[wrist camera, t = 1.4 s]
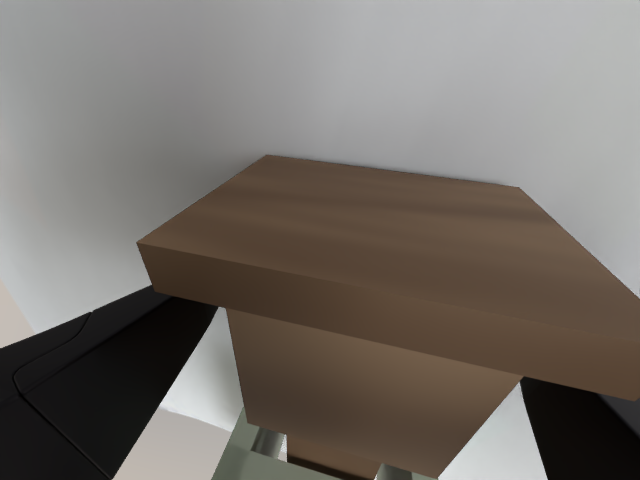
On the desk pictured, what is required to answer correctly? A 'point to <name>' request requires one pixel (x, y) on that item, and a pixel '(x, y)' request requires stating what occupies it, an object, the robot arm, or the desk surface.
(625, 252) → the desk surface
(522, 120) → the desk surface
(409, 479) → the cradle
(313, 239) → the brown wooden stepped block
